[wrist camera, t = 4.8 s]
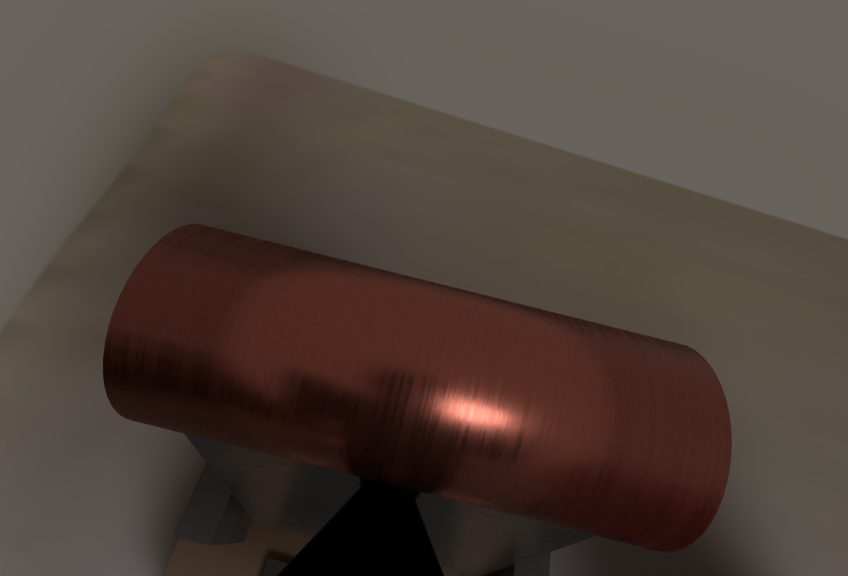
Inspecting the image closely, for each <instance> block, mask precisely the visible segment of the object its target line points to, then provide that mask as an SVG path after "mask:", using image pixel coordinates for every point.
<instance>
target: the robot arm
mask: <svg viewBox="0 0 848 576" xmlns="http://www.w3.org/2000/svg"><path fill="white" fill-rule="evenodd" d="M277 576H444V574H443V571H442V569H441V566H440V564H439V561H438V558H437V556H436V553H435V550H434V548H433V545H432V543H431V540H430V537H429V535H428V532H427V529H426V527H425V524H424V522H423V519H422V516H421V514H420V511H419V508H418V506H417V503H416V501H415V500H414V499H411V498H407V497H403V496H399V495H395V494H388V496H387V493H386V492H383V491H379V490H375V489H371V488H367V487H360V488H359V489H358V490H357V491H356V492H355V494H354V495H353V496H352V497H351V498H350V499H349V500H348V501H347V502H346V503H345V504H344V505H343V506H342V507H341V508H340V509H339V510H338V511H337V513H336V514H335V515H334V516H333V517H332V518H331V519H330V520H329V521H328V522H327V523H326V524H325V525H324V526H323V527H322V528H321V529H320V530H319V532H318V533H317V534H316V535H315V536H314V537H313V538H312V539H311V540H310V541H309V542H308V543H307V544H306V545H305V546H304V547H303V548H302V549H301V551H300V552H299V553H298V554H297V555H296V556H295V557H294V558H293V559H292V560H291V561H290V562H289V563H288V564H287V565H286V566H285V567H284V568H283V570H282V571H281V572H280V573H279V574H278V575H277Z"/></svg>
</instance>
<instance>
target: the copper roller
mask: <svg viewBox="0 0 848 576" xmlns="http://www.w3.org/2000/svg"><path fill="white" fill-rule="evenodd" d="M103 378H104V386H105V390H106V393H107V397H108V399H109V401H110V403H111V405H112V407H113V408H114V409H115V410H116V412H117V413H118V414H120V415H121V416H122V417H124V418H126V419H129V420H132V421H136V422H140V423H144V424H148V425H152V426H156V427H160V428H164V429H169V430H173V431H177V432H181V433H184V434H185V435H186V436H187V438H188V439H189V440H190V441H191V443H192V444H193V445H194V446H195V448H196V449H197V450H198V451H199V453H200V454H201V455H202V456H203V458H204V459H205V460H206V461H207V463H208V464H209V465H210V466H211V468H212V469H213V470H214V471H215V473H216V474H217V475H218V476H219V478H220V479H221V480H222V481H223V483H224V484H225V485H226V486H227V488H228V489H229V490H230V491H231V493H232V494H233V495H234V496H235V498H236V499H237V500H238V501H239V503H240V504H241V505H242V506H243V508H244V509H245V510H246V511H247V513H248V514H249V515H250V516H251V518H252V519H253V520H254V521H255V523H259V524H263V525H267V526H271V527H275V528H279V529H283V530H287V531H291V532H295V533H300V534H304V535H308V536H312V537H314V536H315V535H316V534H317V533H318V532H319V530H320V529H321V528H322V527H323V526H324V525H325V524H326V523H327V522H328V521H329V520H330V519H331V518H332V517H333V516H334V515H335V514H336V513H337V511H338V510H339V509H340V508H341V507H342V506H343V505H344V504H345V503H346V502H347V501H348V500H349V499H350V498H351V497H352V496H353V495H354V494H355V492H356V491H357V490H358V489H359V488H360V487H367V488H371V489H375V490H379V491H383V492H386V493H387V496H388V494H395V495H399V496H403V497H407V498H411V499H414V500H415V501H416V503H417V506H418V508H419V511H420V514H421V516H422V519H423V522H424V524H425V527H426V529H427V532H428V535H429V537H430V540H431V543H432V545H433V548H434V550H435V553H436V556H437V558H438V561H439V564H440V566H441V569H445V570H449V571H453V572H457V573H461V574H465V575H469V576H484V575H486V574H489V573H492V572H495V571H498V570H501V569H503V568H506V567H509V566H512V565H515V564H517V563H520V562H523V561H526V560H529V559H532V558H534V557H537V556H540V555H543V554H546V553H549V552H551V551H554V550H557V549H560V548H563V547H565V546H568V545H571V544H574V543H577V542H580V541H582V540H585V539H588V538H591V537H594V536H599V537H603V538H607V539H611V540H615V541H619V542H623V543H627V544H631V545H635V546H639V547H643V548H647V549H651V550H656V551H661V552H673V551H677V550H680V549H683V548H685V547H687V546H688V545H690V544H692V543H693V542H694V541H695V540H696V539H697V538H699V537H700V536H701V535H702V534H703V532H704V531H705V530H706V528H707V527H708V526H709V524H710V523H711V521H712V519H713V517H714V516H715V514H716V512H717V510H718V508H719V505H720V503H721V500H722V498H723V495H724V491H725V487H726V484H727V480H728V474H729V469H730V461H731V447H732V446H731V425H730V417H729V411H728V406H727V402H726V398H725V395H724V392H723V389H722V386H721V384H720V382H719V380H718V378H717V376H716V374H715V372H714V371H713V369H712V367H711V366H710V364H709V363H708V362H707V361H706V360H705V359H704V358H703V356H702V355H700V354H699V353H698V352H697V351H695V350H694V349H692V348H690V347H688V346H685V345H682V344H678V343H674V342H670V341H666V340H662V339H658V338H654V337H650V336H646V335H642V334H638V333H634V332H630V331H626V330H622V329H618V328H614V327H610V326H606V325H602V324H598V323H594V322H590V321H586V320H582V319H578V318H574V317H570V316H566V315H562V314H558V313H554V312H550V311H546V310H542V309H538V308H534V307H530V306H526V305H522V304H518V303H514V302H510V301H506V300H502V299H498V298H494V297H490V296H486V295H482V294H478V293H474V292H470V291H466V290H462V289H458V288H454V287H450V286H446V285H442V284H438V283H434V282H430V281H426V280H422V279H418V278H414V277H410V276H406V275H402V274H398V273H394V272H390V271H386V270H382V269H378V268H373V267H369V266H365V265H361V264H357V263H353V262H349V261H345V260H341V259H337V258H333V257H329V256H325V255H321V254H317V253H313V252H309V251H305V250H301V249H297V248H293V247H289V246H285V245H281V244H277V243H273V242H269V241H265V240H261V239H257V238H253V237H249V236H245V235H241V234H237V233H233V232H229V231H225V230H221V229H217V228H213V227H209V226H205V225H200V224H190V225H186V226H182V227H180V228H178V229H176V230H174V231H172V232H171V233H169V234H167V235H166V236H164V237H163V238H162V239H161V240H160V241H159V242H157V243H156V244H155V245H154V246H153V247H152V248H151V249H150V250H149V251H148V253H147V254H146V255H145V256H144V257H143V259H142V260H141V261H140V263H139V264H138V265H137V266H136V268H135V270H134V271H133V273H132V274H131V276H130V278H129V279H128V281H127V283H126V285H125V287H124V289H123V291H122V293H121V294H120V297H119V299H118V302H117V304H116V306H115V309H114V312H113V315H112V318H111V321H110V324H109V327H108V332H107V336H106V341H105V347H104V356H103Z"/></svg>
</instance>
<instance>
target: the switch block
mask: <svg viewBox="0 0 848 576" xmlns="http://www.w3.org/2000/svg"><path fill="white" fill-rule="evenodd" d="M174 537H177V538H179V539H178V542H177V544H176V546H175V548H174V551H173V553H172V555H171V558H170V560H169V562H168V564H167V567H166V569H165V571H164V574H163V576H277V575H278V574H279V573H280V572H281V571H282V570H283V568H284V567H285V566H286V565H287V564H288V563H289V562H290V561H291V560H292V559H293V558H294V557H295V556H296V555H297V554H298V553H299V552H300V551H301V549H302V548H303V547H304V546H305V545H306V544H307V543H308V542H309V541H310V540H311V539H312V538H313V537H312V536H308V535H304V534H300V533H295V532H291V531H287V530H283V529H279V528H275V527H271V526H267V525H263V524H259V523H255V521H254V520H253V519H252V518H251V516H250V515H249V514H248V513H247V511H246V510H245V509H244V508H243V506H242V505H241V504H240V503H239V501H238V500H237V499H236V498H235V496H234V495H233V494H232V493H231V491H230V490H229V489H228V488H227V486H226V485H225V484H224V483H223V481H222V480H221V479H220V478H219V476H218V475H217V474H216V473H215V471H214V470H213V469H212V468H211V466H210V465H209V464H208V463H206V466H205V468H204V470H203V472H202V475H201V477H200V479H199V481H198V484H197V486H196V488H195V490H194V493H193V495H192V497H191V499H190V502H189V504H188V506H187V509H186V511H185V513H184V515H183V518H182V520H181V522H180V524H179V527H178V529H177V531H176V533H175V536H174ZM549 566H550V552H549V553H546V554H543V555H540V556H537V557H534V558H532V559H529V560H526V561H523V562H520V563H517V564H515V565H512V566H509V567H506V568H503V569H501V570H498V571H495V572H492V573H489V574H486V575H484V576H549ZM442 571H443V574H444V576H469V575H465V574H461V573H457V572H453V571H449V570H445V569H442Z"/></svg>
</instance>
